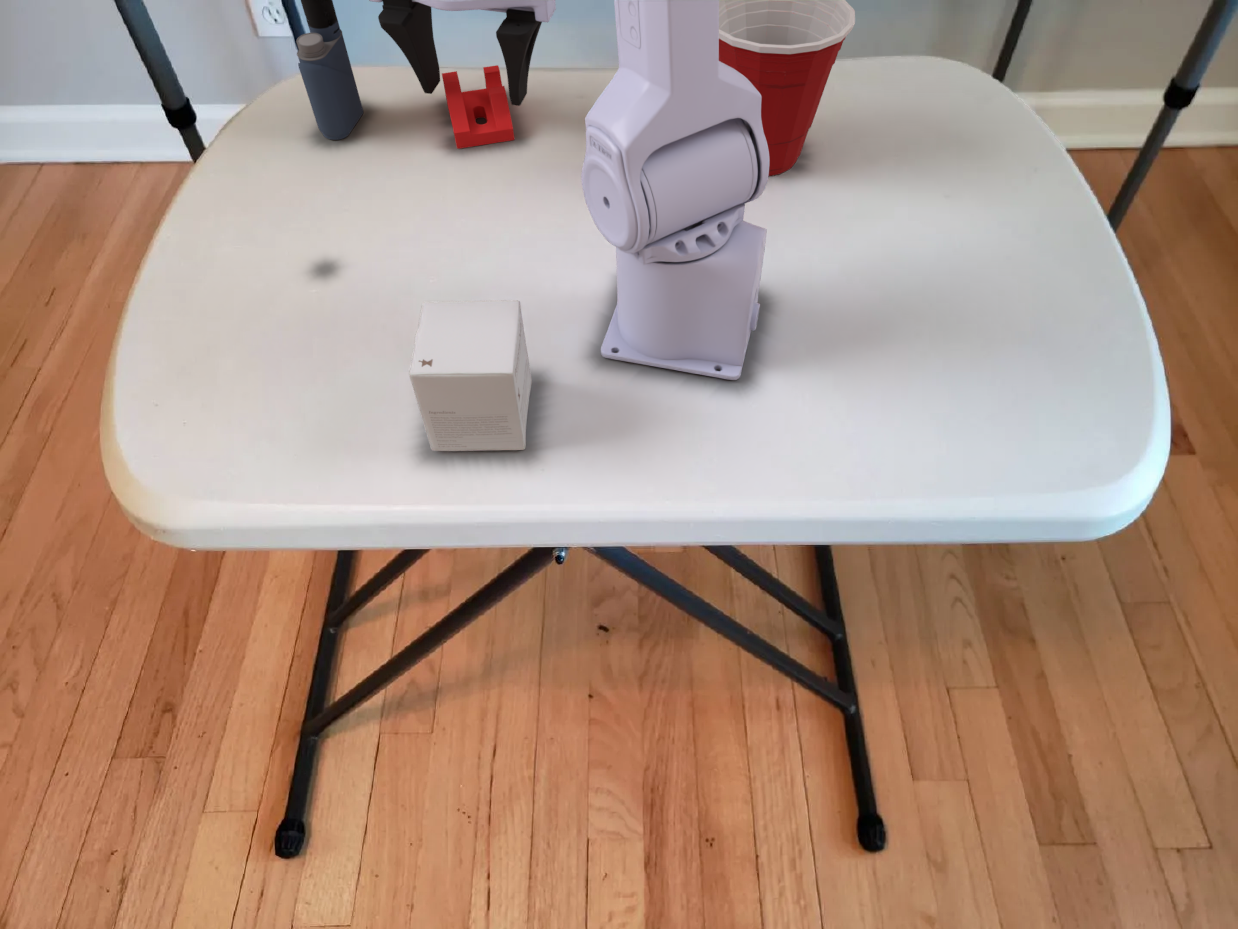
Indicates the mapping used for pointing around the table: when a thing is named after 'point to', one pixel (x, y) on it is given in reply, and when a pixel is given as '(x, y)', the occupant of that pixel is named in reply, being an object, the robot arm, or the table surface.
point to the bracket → (479, 110)
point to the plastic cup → (784, 62)
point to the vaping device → (328, 71)
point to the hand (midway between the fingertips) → (475, 92)
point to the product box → (472, 375)
